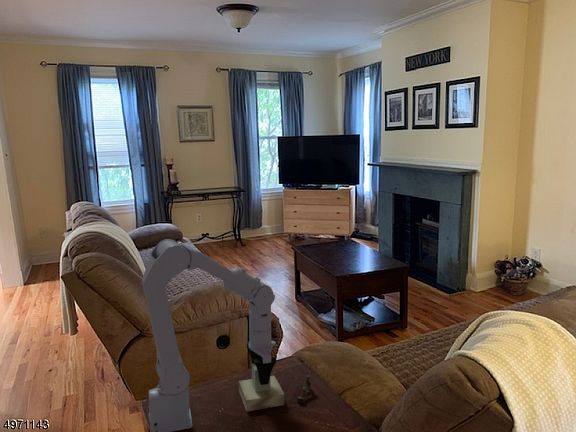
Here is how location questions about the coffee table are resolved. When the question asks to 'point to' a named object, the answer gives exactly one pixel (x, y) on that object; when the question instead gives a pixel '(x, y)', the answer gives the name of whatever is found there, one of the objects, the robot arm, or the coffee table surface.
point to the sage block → (256, 382)
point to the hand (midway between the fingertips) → (260, 376)
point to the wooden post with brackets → (305, 389)
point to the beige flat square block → (261, 395)
